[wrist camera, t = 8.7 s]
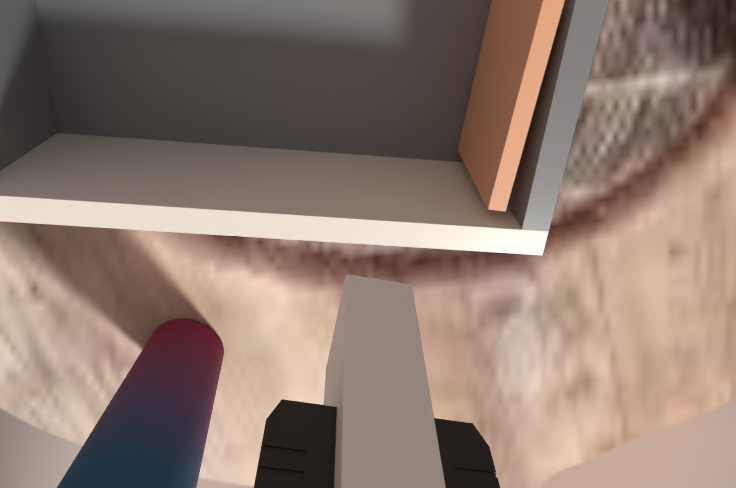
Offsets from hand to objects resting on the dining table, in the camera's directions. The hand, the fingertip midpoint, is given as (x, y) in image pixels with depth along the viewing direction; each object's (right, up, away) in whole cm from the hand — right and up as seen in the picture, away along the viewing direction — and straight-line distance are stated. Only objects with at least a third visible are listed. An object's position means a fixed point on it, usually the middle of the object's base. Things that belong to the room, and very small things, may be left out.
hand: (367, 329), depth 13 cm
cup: (-12, -5, +27) cm, 30 cm away
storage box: (-5, +12, +18) cm, 22 cm away
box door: (+6, +11, +17) cm, 21 cm away
